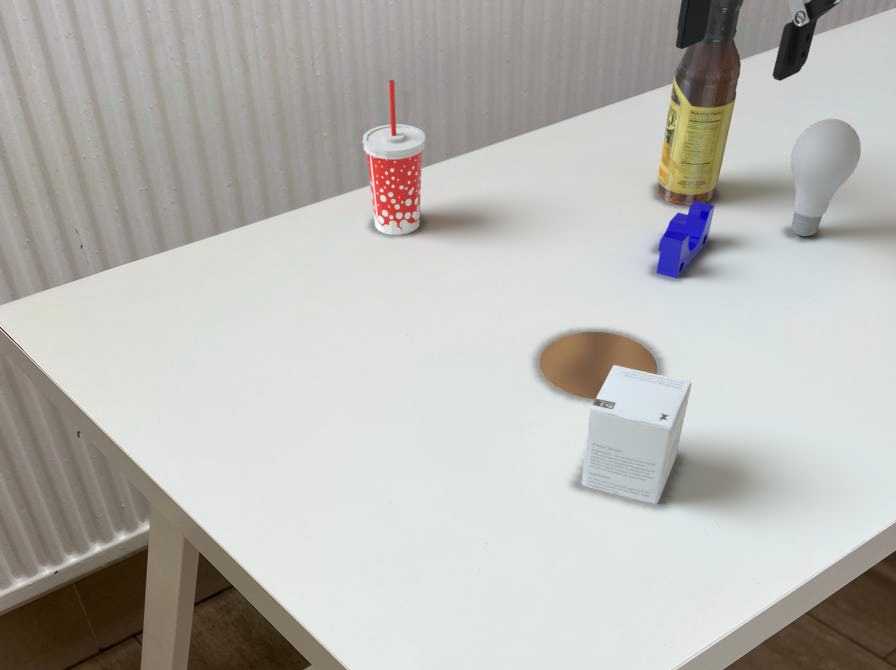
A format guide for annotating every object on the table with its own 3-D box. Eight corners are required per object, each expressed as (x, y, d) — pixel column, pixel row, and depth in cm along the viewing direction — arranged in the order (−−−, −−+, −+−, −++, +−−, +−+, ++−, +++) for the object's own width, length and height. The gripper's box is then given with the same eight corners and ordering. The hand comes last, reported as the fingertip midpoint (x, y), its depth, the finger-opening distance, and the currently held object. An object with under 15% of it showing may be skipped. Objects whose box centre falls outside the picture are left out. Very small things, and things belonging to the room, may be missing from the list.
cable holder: (673, 236, 98) (680, 197, 95) (706, 245, 97) (714, 205, 94) (641, 272, 94) (647, 232, 91) (675, 281, 93) (683, 241, 90)
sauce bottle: (664, 178, 106) (700, -34, 91) (721, 189, 105) (767, -27, 89) (646, 204, 103) (681, -13, 88) (704, 216, 101) (750, -4, 86)
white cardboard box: (676, 459, 76) (694, 379, 70) (656, 508, 72) (674, 428, 67) (600, 441, 77) (613, 361, 72) (578, 488, 74) (589, 408, 68)
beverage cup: (438, 230, 100) (437, 84, 89) (387, 247, 98) (379, 99, 88) (407, 207, 104) (402, 63, 93) (357, 223, 102) (346, 78, 91)
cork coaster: (634, 329, 88) (635, 325, 87) (671, 394, 81) (672, 390, 81) (527, 342, 87) (527, 338, 86) (555, 409, 80) (556, 405, 80)
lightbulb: (773, 218, 100) (803, 104, 92) (835, 226, 99) (871, 112, 90) (767, 246, 96) (797, 131, 88) (831, 255, 95) (868, 139, 87)
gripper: (936, -202, 65) (853, 75, 78) (723, -233, 74) (681, 22, 87) (875, -184, 62) (800, 102, 75) (661, -218, 70) (626, 44, 84)
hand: (736, 59), depth 81 cm, fingers open, 9 cm apart
